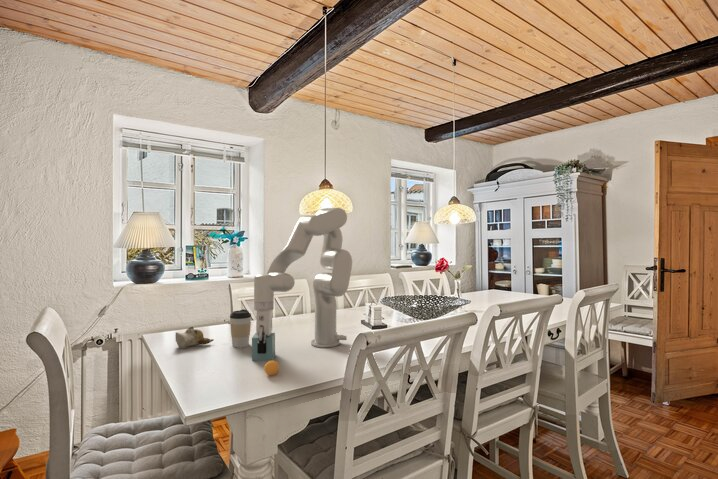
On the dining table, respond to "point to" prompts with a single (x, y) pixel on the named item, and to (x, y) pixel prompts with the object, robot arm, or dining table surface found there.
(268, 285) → the robot arm
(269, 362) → the ball
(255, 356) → the pale teal cube
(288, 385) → the dining table surface
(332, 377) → the dining table surface
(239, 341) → the coffee cup
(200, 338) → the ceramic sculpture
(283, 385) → the dining table surface
